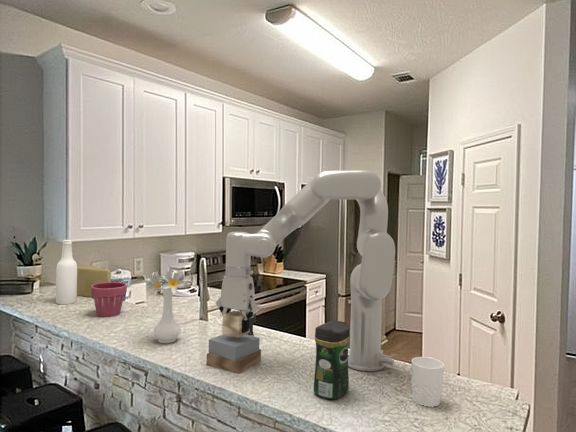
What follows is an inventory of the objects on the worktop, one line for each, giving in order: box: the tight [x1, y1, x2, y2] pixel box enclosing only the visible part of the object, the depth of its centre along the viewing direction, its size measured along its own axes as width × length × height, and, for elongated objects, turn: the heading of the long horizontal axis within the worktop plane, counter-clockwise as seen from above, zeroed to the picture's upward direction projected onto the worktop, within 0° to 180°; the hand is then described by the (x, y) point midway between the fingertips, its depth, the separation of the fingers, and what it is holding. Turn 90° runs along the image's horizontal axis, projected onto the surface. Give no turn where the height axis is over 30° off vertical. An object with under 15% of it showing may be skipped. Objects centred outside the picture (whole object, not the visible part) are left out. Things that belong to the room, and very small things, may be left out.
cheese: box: [77, 265, 112, 299], centre depth 209 cm, size 22×10×15 cm, turn 57°
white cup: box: [411, 356, 445, 407], centre depth 105 cm, size 8×8×10 cm
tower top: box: [208, 334, 260, 361], centre depth 127 cm, size 11×11×4 cm
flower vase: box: [144, 270, 190, 344], centre depth 145 cm, size 13×18×25 cm
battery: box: [237, 308, 257, 337], centre depth 149 cm, size 7×4×11 cm, turn 139°
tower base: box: [206, 348, 262, 374], centre depth 127 cm, size 12×12×4 cm
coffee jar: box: [313, 319, 350, 400], centre depth 108 cm, size 10×8×19 cm
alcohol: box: [55, 239, 78, 306], centre depth 195 cm, size 9×9×30 cm
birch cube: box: [221, 310, 250, 338], centre depth 127 cm, size 6×6×6 cm
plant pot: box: [91, 281, 128, 318], centre depth 177 cm, size 14×14×13 cm
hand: (236, 329), depth 127 cm, fingers closed on birch cube, 6 cm apart
